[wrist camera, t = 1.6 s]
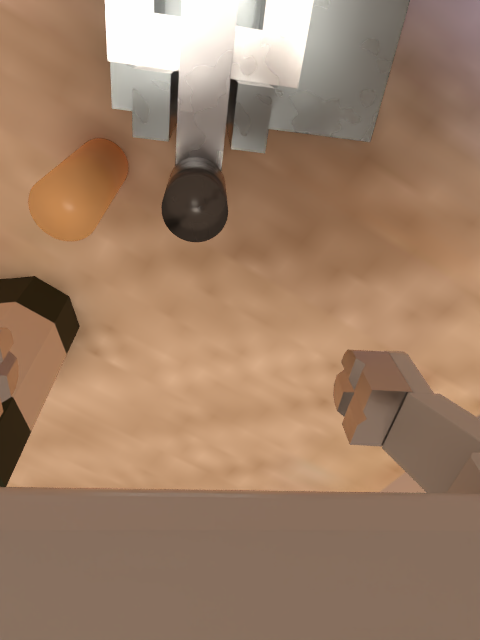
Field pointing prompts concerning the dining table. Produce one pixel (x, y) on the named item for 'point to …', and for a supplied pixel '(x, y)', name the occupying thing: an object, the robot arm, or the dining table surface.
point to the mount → (262, 66)
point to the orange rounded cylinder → (79, 190)
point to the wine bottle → (31, 357)
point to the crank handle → (201, 120)
